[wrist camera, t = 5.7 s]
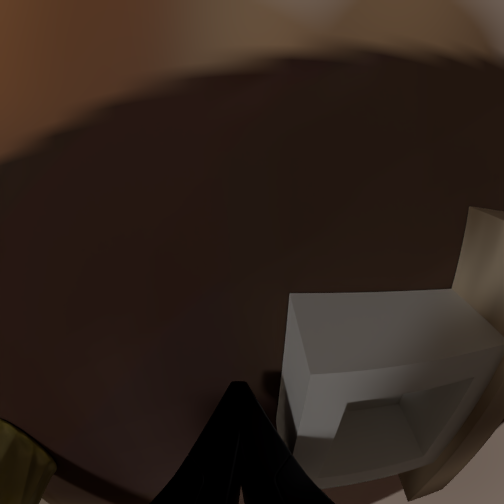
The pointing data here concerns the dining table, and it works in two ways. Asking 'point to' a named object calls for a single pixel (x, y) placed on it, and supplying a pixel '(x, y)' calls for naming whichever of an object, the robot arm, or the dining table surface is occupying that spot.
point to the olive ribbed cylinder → (22, 467)
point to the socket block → (380, 380)
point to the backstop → (500, 386)
